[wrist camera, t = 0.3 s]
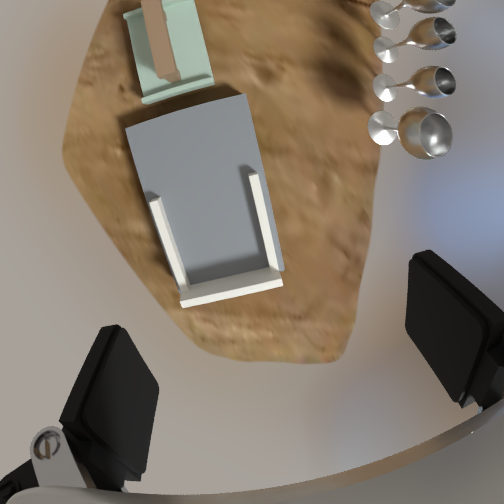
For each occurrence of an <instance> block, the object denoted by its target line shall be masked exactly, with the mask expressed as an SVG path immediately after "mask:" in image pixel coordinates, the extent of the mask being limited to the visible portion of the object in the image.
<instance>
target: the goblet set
mask: <svg viewBox="0 0 504 504" xmlns="http://www.w3.org/2000/svg"><path fill="white" fill-rule="evenodd" d="M455 2H456V0H403V1H402V3H401V4H399V5H398V6H397V7H395V8H394V7H393V6H391V5H390V4H388V3H386V2H384V1H376V2H374V3H372V5H371V7H370V13H371V16H372V18H373V19H374V21H375V22H376V23H377V24H378V25H380V26H381V27H383V28H386V29H394V28H396V27H397V26H398V25H399V21H400V19H399V15H398V13H397V11H396V10H399V9H401V8H404V7H409V8H411V9H413V10H415V11H417V12H421V13H427V14H434V13H440V12H443V11H445V10H447V9H449V8H450V7H451V6H453V5H454V4H455ZM455 41H456V31H455V29H454V27H453V26H452V24H451V23H450V22H449V21H448V20H447V19H445V18H443V17H430V18H426V19H423V20H421V21H419V22H417V23H416V24H415V25H414V26H413V27H412V29H411V30H410V33H409V35H408V37H407V38H406V39H405V40H404V41H403V42H401V43H399V44H395V43H394V42H393V41H392V40H391V39H389V38H387V37H378V38H377V39H376V40H375V41H374V44H373V48H374V51H375V53H376V55H377V56H378V57H379V58H380V59H381V60H382V61H384V62H388V63H391V62H394V61H395V60H396V59H397V57H398V49H397V47H399V46H402V45H413V46H415V47H418V48H420V49H423V50H441V49H444V48H446V47H449V46H451V45H452V44H454V43H455ZM397 87H408V88H411V89H413V90H414V91H416V92H417V93H419V94H421V95H423V96H425V97H429V98H442V97H446V96H449V95H451V94H453V93H454V92H455V89H456V80H455V77H454V75H453V74H452V72H451V71H450V70H449V69H447V68H445V67H441V66H427V67H423V68H420V69H418V70H417V71H416V72H415V73H414V74H413V75H412V76H411V78H410V79H409V80H408V81H407V82H404V83H401V84H396V82H395V81H394V79H393V78H392V77H391V76H389V75H387V74H379V75H377V76H376V77H375V79H374V81H373V90H374V92H375V94H376V95H377V97H378V98H380V99H381V100H383V101H391V100H393V99H394V98H395V97H396V95H397V91H398V88H397ZM397 131H398V137H399V140H400V142H401V144H402V146H403V148H404V149H405V150H406V151H407V152H408V153H409V154H410V155H412V156H414V157H416V158H418V159H423V160H431V159H436V158H439V157H442V156H444V155H445V154H447V152H448V151H449V150H450V147H451V145H452V141H453V133H452V128H451V125H450V123H449V122H448V120H447V119H446V118H445V117H444V116H443V115H441V114H440V113H438V112H437V111H435V110H433V109H431V108H428V107H422V106H421V107H420V106H419V107H413V108H410V109H409V110H407V111H406V112H405V113H404V114H403V115H402V116H401V118H400V120H399V123H398V127H397V123H396V120H395V119H394V117H393V116H392V115H391V114H390V113H388V112H386V111H377V112H375V113H374V114H373V115H372V116H371V117H370V119H369V121H368V132H369V135H370V137H371V138H372V139H373V140H374V141H375V142H376V143H378V144H381V145H386V144H389V143H391V142H392V141H393V140H394V139H395V138H396V135H397Z"/></svg>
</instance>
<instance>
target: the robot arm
mask: <svg viewBox="0 0 504 504" xmlns="http://www.w3.org/2000/svg"><path fill="white" fill-rule="evenodd" d="M405 328H406V331H407V333H408V335H409V336H410V338H411V339H412V341H413V342H414V343H415V345H416V346H417V348H418V349H419V351H420V352H421V354H422V355H423V356H424V358H425V359H426V361H427V362H428V364H429V365H430V367H431V368H432V370H433V371H434V373H435V374H436V376H437V377H438V379H439V380H440V382H441V383H442V385H443V386H444V388H445V390H446V391H447V393H448V394H449V396H450V397H451V399H452V400H453V401H454V402H458V403H459V405H460V406H461V408H464V407H466V406H468V405H470V404H471V403H473V402H475V401H476V402H477V404H478V406H479V408H478V414H477V415H475V416H474V417H472V418H470V419H468V420H467V421H465V422H463V423H461V424H459V425H458V426H455V427H454V428H452V429H450V430H448V431H446V432H444V433H442V434H440V435H438V436H436V437H434V438H432V439H429V440H428V441H425V442H423V443H421V444H419V445H416V446H414V447H412V448H409V449H407V450H404V451H402V452H400V453H397V454H395V455H392V456H389V457H387V458H384V459H382V460H378V461H376V462H373V463H370V464H367V465H364V466H361V467H358V468H354V469H351V470H348V471H344V472H341V473H337V474H334V475H330V476H326V477H322V478H318V479H314V480H309V481H305V482H300V483H295V484H290V485H285V486H279V487H273V488H266V489H260V490H252V491H243V492H233V493H220V494H205V495H204V494H202V495H158V494H140V493H129V492H128V491H127V489H126V488H125V486H124V481H125V480H127V481H141V475H142V473H144V472H145V471H146V465H147V459H148V452H149V446H150V440H151V434H152V428H153V422H154V416H155V411H156V406H157V400H158V395H159V386H158V383H157V381H156V379H155V378H154V376H153V375H152V373H151V371H150V370H149V368H148V366H147V365H146V363H145V362H144V360H143V358H142V357H141V355H140V354H139V352H138V350H137V348H136V346H135V345H134V343H133V341H132V339H131V338H130V336H129V334H128V332H127V331H126V330H125V329H124V328H121V327H120V326H119V325H117V324H116V325H111V326H105V327H102V328H101V329H100V331H99V333H98V335H97V337H96V339H95V341H94V343H93V345H92V347H91V349H90V351H89V353H88V355H87V358H86V360H85V362H84V364H83V366H82V368H81V370H80V372H79V375H78V377H77V379H76V381H75V384H74V386H73V388H72V390H71V393H70V395H69V397H68V400H67V402H66V405H65V407H64V409H63V412H62V414H61V417H60V419H59V422H60V423H61V424H62V425H63V428H62V430H61V429H59V428H58V427H54V426H51V427H46V428H44V429H42V430H41V431H40V432H38V433H37V434H36V436H35V437H34V438H33V440H32V442H31V446H30V455H31V459H30V460H28V461H27V462H25V463H24V464H22V465H21V466H19V467H18V468H17V469H15V470H14V471H12V472H11V473H9V474H8V475H6V476H5V477H4V478H3V479H2V480H1V481H0V504H504V312H503V311H502V310H501V309H500V308H499V307H498V306H496V304H494V303H493V302H492V301H491V300H490V299H489V298H488V297H487V296H485V294H483V293H482V292H481V291H480V290H479V289H478V288H477V287H475V286H474V285H473V284H472V283H471V282H470V281H468V280H467V279H466V278H465V277H464V276H462V275H461V274H460V273H459V272H458V271H457V270H455V269H454V268H453V267H452V266H451V265H449V264H448V263H447V262H446V261H444V260H443V259H442V258H441V257H439V256H438V255H437V254H435V253H434V252H433V251H432V250H425V251H422V252H418V253H415V254H414V255H413V257H412V259H411V260H410V261H409V273H408V293H407V308H406V320H405Z"/></svg>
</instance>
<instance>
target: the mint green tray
mask: <svg viewBox="0 0 504 504" xmlns="http://www.w3.org/2000/svg"><path fill="white" fill-rule="evenodd" d="M141 6H142V7H141V8H138V9H135V10H133V11H130V12H128V13H125V14H123V16H124V19H125V20H126V21H127V24H128V29H129V34H130V39H131V44H132V48H133V53H134V58H135V62H136V67H137V71H138V75H139V80H140V84H141V88H142V92H143V96H144V98H141V99H142V103H143V104H151V103H154V102H157V101H160V100H163V99H166V98H169V97H172V96H176V95H179V94H182V93H186V92H189V91H193V90H196V89H200V88H204V87H208V86H212V85H215V82H214V78H213V74H212V70H211V66H210V62H209V58H208V54H207V50H206V46H205V42H204V38H203V34H202V30H201V26H200V22H199V18H198V14H197V10H196V6H195V2H194V0H142V1H141Z"/></svg>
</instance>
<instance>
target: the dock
mask: <svg viewBox="0 0 504 504" xmlns="http://www.w3.org/2000/svg"><path fill="white" fill-rule="evenodd" d="M125 130H126V134H127V138H128V141H129V145H130V148H131V152H132V155H133V159H134V162H135V166H136V169H137V172H138V176H139V179H140V182H141V185H142V189H143V192H144V195H145V198H146V201H147V204H148V207H149V210H150V213H151V216H152V219H153V222H154V225H155V228H156V231H157V234H158V237H159V239H160V242H161V245H162V248H163V251H164V253H165V256H166V259H167V261H168V264H169V267H170V269H171V272H172V275H173V277H174V280H175V283H176V285H177V288H178V290H179V293H180V294H181V298H180V303H181V306H182V308H185V307H190V306H195V305H200V304H204V303H209V302H214V301H218V300H223V299H227V298H232V297H237V296H241V295H245V294H250V293H254V292H259V291H263V290H267V289H271V288H276V287H280V286H283V283H282V278H281V275H280V271H284V270H285V269H284V264H283V259H282V254H281V249H280V244H279V239H278V234H277V229H276V225H275V220H274V215H273V210H272V206H271V201H270V197H269V192H268V187H267V183H266V178H265V174H264V169H263V165H262V160H261V156H260V152H259V147H258V143H257V139H256V134H255V130H254V126H253V121H252V117H251V113H250V109H249V105H248V101H247V96H246V93H245V94H241V95H236V96H232V97H227V98H223V99H219V100H215V101H211V102H207V103H204V104H200V105H196V106H193V107H189V108H186V109H182V110H179V111H175V112H172V113H169V114H166V115H163V116H160V117H157V118H154V119H151V120H148V121H145V122H142V123H139V124H136V125H134V126H131V127H128V128H125Z"/></svg>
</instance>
